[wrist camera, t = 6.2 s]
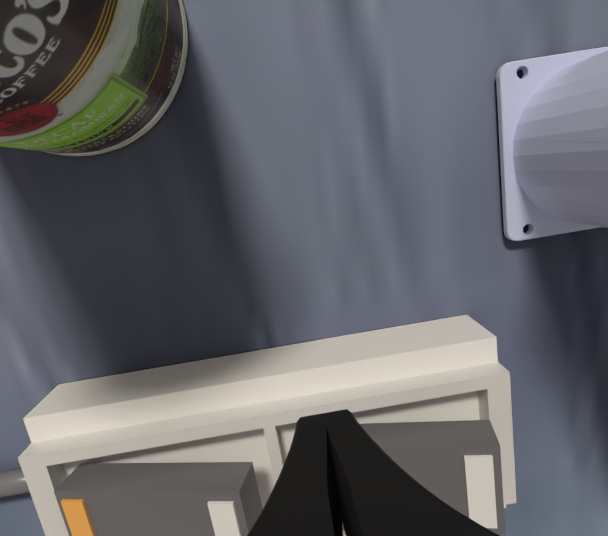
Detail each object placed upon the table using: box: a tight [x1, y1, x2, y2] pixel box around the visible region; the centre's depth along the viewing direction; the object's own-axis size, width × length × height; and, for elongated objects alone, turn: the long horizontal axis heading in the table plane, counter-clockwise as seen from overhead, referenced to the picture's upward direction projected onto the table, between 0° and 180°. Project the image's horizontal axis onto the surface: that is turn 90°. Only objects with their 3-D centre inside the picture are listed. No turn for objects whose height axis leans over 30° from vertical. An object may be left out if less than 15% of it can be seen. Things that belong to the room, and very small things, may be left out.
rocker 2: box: [342, 420, 505, 535], centre depth 18 cm, size 8×4×2 cm, turn 99°
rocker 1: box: [54, 462, 263, 536], centre depth 17 cm, size 8×4×2 cm, turn 99°
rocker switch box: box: [0, 315, 516, 536], centre depth 20 cm, size 27×9×4 cm, turn 99°
